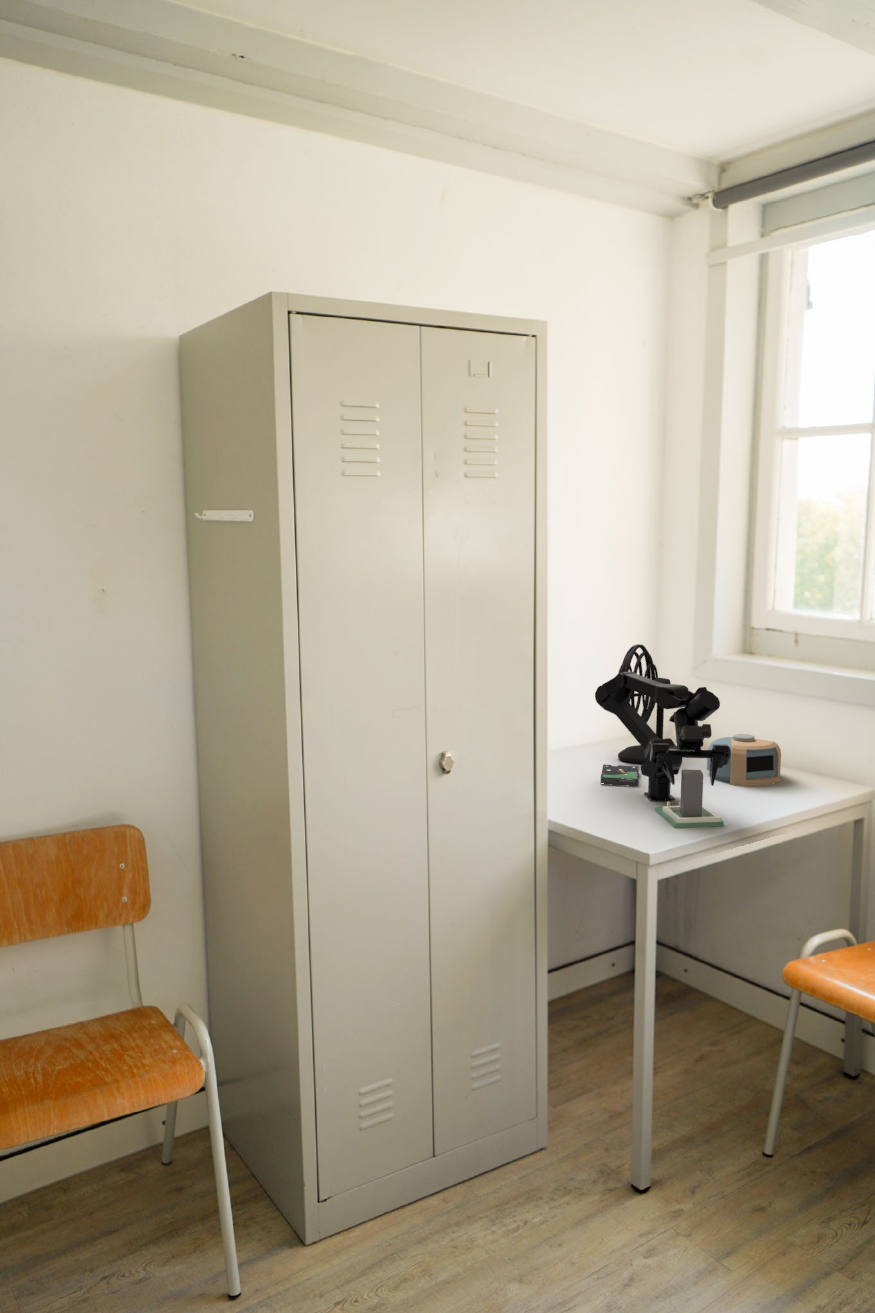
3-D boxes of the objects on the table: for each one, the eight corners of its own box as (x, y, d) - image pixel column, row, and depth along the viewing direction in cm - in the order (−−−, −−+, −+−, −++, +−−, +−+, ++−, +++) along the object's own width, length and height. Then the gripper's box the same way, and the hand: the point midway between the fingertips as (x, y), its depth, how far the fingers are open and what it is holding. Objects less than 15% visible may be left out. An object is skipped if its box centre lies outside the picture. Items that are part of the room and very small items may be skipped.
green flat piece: (654, 810, 239) (655, 800, 239) (700, 808, 241) (701, 799, 240) (675, 827, 226) (675, 817, 225) (723, 825, 227) (724, 815, 227)
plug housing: (680, 813, 234) (681, 769, 232) (698, 813, 233) (700, 769, 232) (682, 818, 230) (684, 773, 228) (701, 818, 229) (703, 774, 228)
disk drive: (602, 773, 278) (600, 786, 264) (602, 764, 278) (600, 776, 263) (638, 775, 276) (638, 788, 262) (638, 765, 276) (638, 778, 261)
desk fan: (629, 745, 311) (632, 639, 307) (683, 751, 303) (687, 642, 298) (603, 763, 288) (605, 648, 283) (660, 770, 279) (664, 651, 275)
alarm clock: (734, 789, 260) (736, 745, 258) (693, 771, 278) (694, 730, 277) (793, 783, 266) (795, 740, 264) (748, 766, 284) (750, 726, 283)
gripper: (652, 711, 233) (657, 766, 223) (731, 712, 231) (739, 768, 222) (647, 735, 242) (652, 789, 232) (723, 737, 240) (730, 791, 231)
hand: (693, 784), depth 229 cm, fingers open, 9 cm apart
